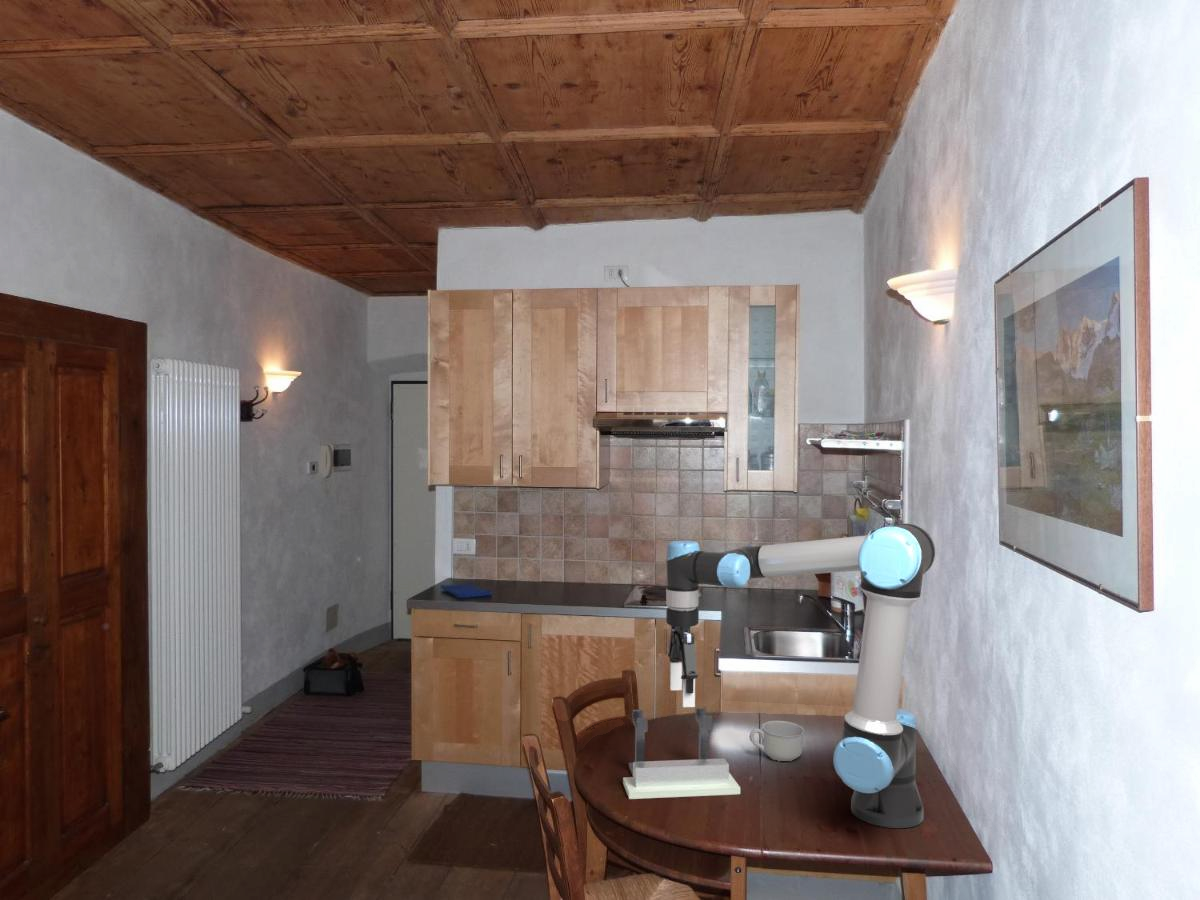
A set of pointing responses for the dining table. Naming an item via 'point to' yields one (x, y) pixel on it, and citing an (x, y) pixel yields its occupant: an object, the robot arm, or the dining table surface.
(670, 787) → the board
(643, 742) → the hook stand
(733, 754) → the dining table surface
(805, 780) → the dining table surface
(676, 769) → the rail bar
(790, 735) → the teacup
